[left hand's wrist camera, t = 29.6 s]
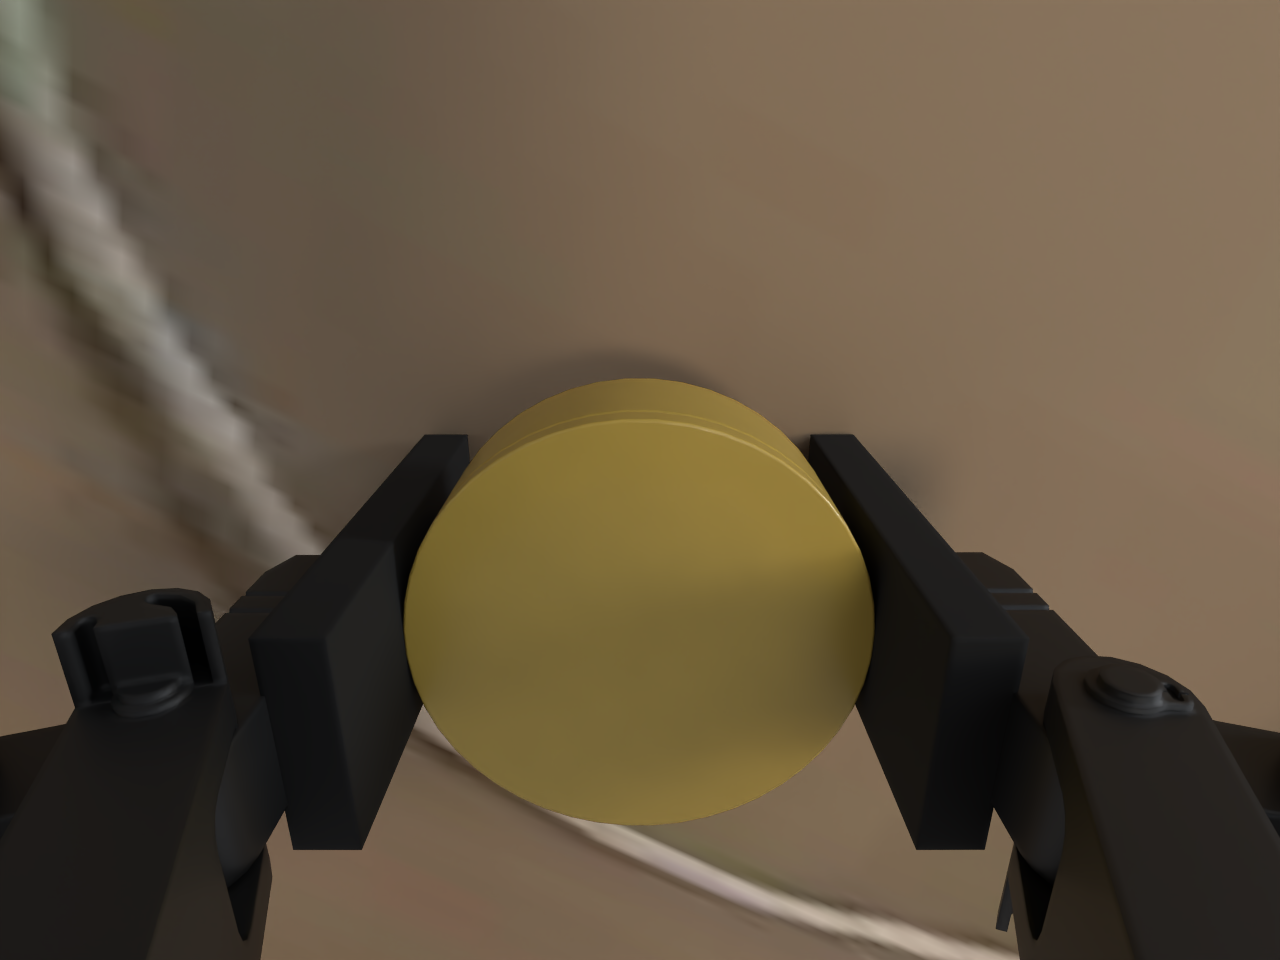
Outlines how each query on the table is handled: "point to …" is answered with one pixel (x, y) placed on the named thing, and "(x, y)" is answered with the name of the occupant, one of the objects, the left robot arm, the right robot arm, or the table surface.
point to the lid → (639, 606)
